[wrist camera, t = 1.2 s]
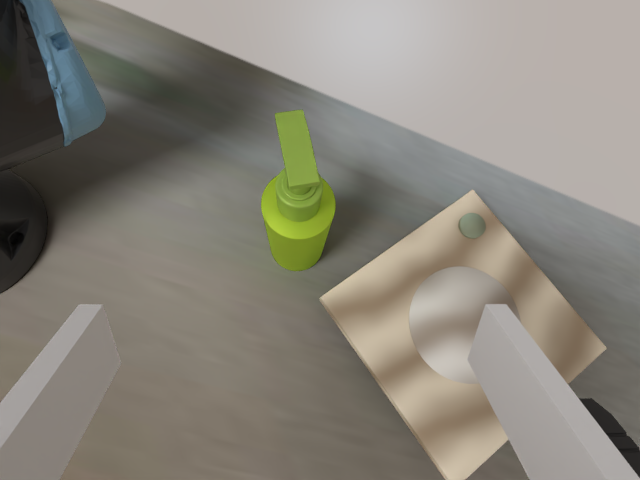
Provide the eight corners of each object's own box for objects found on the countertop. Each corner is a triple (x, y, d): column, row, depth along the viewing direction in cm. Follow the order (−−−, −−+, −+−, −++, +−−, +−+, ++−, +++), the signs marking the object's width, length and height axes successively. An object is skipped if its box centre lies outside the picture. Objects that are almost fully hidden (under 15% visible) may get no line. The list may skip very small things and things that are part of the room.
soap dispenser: (315, 208, 43) (333, 100, 24) (327, 265, 42) (357, 198, 22) (265, 217, 43) (242, 112, 23) (275, 275, 41) (260, 215, 22)
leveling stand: (317, 302, 40) (321, 296, 35) (453, 206, 45) (475, 187, 39) (434, 469, 37) (458, 491, 31) (569, 347, 41) (611, 348, 36)
